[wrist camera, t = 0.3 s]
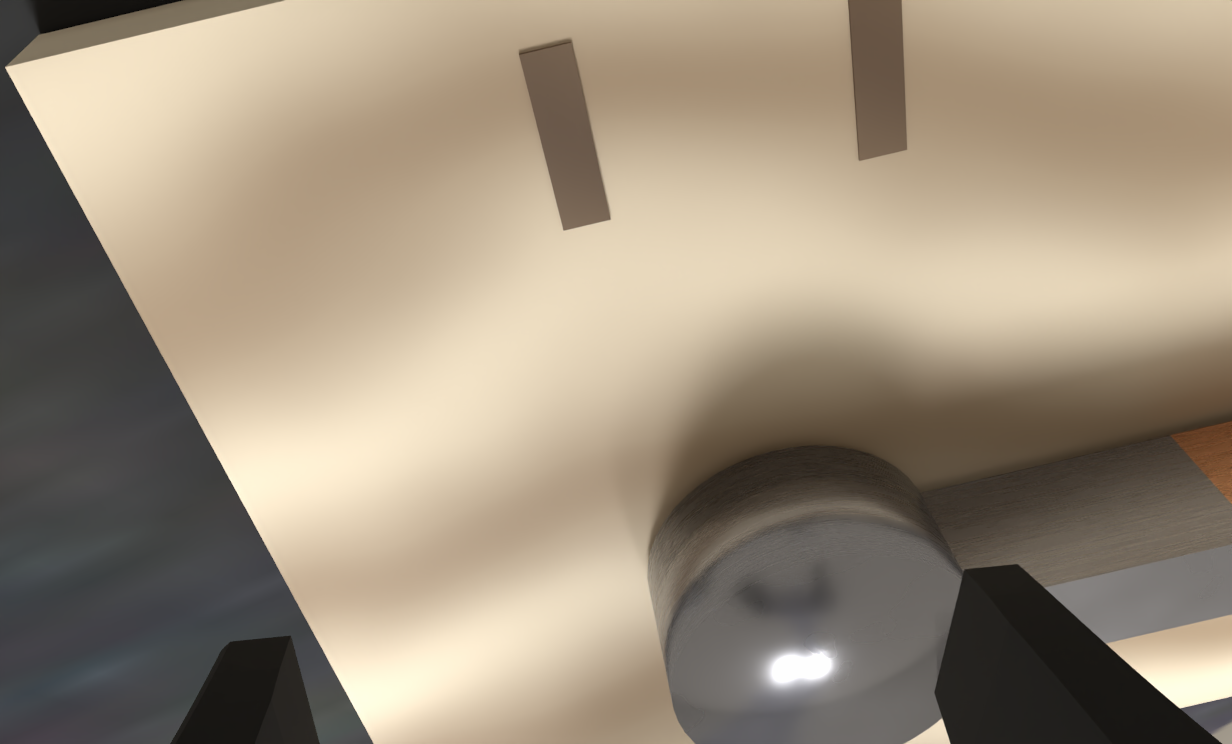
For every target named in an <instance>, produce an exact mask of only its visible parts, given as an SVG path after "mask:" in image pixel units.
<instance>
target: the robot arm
mask: <svg viewBox="0 0 1232 744" xmlns="http://www.w3.org/2000/svg"><path fill="white" fill-rule="evenodd" d="M934 693H935V697H936V700H937V703H938V706H939V709H940V712H941V716H942V719H943V722H944V725H945V728H946V731H947V735H948V738H949V741H950V744H1222V743H1221V742H1219V741H1218V740H1217V739H1216V738H1215V737H1213V736H1212V735H1211V734H1210V733H1208V732H1207V731H1206V730H1205V729H1204V728H1202V727H1201V726H1200V725H1199V724H1198V723H1196V722H1195V721H1194V720H1193V719H1192V718H1190V717H1189V716H1188V715H1187V714H1186V713H1185V712H1183V711H1182V710H1181V709H1180V708H1179V707H1178V706H1176V705H1175V704H1174V703H1173V702H1172V701H1170V700H1169V699H1168V698H1167V697H1166V696H1165V695H1163V694H1162V693H1161V692H1160V691H1159V690H1158V689H1156V688H1155V687H1154V686H1153V685H1152V684H1151V683H1150V682H1148V681H1147V680H1146V679H1145V678H1144V677H1143V676H1142V675H1140V674H1139V673H1138V672H1137V671H1136V670H1135V669H1134V668H1132V667H1131V666H1130V665H1129V664H1128V663H1127V662H1126V661H1125V660H1123V659H1122V658H1121V657H1120V656H1119V655H1118V654H1117V653H1116V652H1115V651H1113V650H1112V649H1111V648H1110V647H1109V646H1108V645H1107V644H1106V643H1105V642H1103V641H1102V640H1101V639H1100V638H1099V637H1098V636H1097V635H1096V634H1095V633H1093V632H1092V631H1091V630H1090V629H1089V628H1088V627H1087V626H1086V625H1085V624H1084V623H1082V622H1081V621H1080V620H1079V619H1078V618H1077V617H1076V616H1075V615H1074V614H1073V613H1071V612H1070V611H1069V610H1068V609H1067V608H1066V607H1065V606H1064V605H1063V604H1062V603H1061V602H1059V601H1058V600H1057V599H1056V598H1055V597H1054V596H1053V595H1052V594H1051V593H1050V592H1048V591H1047V590H1046V589H1045V588H1044V587H1043V586H1042V585H1041V584H1040V583H1039V582H1037V581H1036V580H1035V579H1034V578H1033V577H1032V576H1031V575H1030V574H1028V573H1027V572H1026V571H1025V570H1024V569H1023V568H1022V567H1021V566H1019V565H1018V564H1012V565H1002V566H992V567H982V568H972V569H964V572H963V576H962V580H961V584H960V589H959V593H958V597H957V601H956V605H955V609H954V613H953V617H952V621H951V626H950V630H949V634H948V638H947V642H946V646H945V650H944V654H943V658H942V663H941V667H940V671H939V675H938V679H937V683H936V687H935V691H934ZM170 744H319V740H318V736H317V732H316V729H315V725H314V721H313V717H312V713H311V710H310V706H309V702H308V698H307V695H306V691H305V687H304V683H303V680H302V676H301V672H300V668H299V665H298V661H297V657H296V653H295V650H294V646H293V642H292V638H291V636H283V637H273V638H263V639H253V640H243V641H233V642H230V643H229V644H228V645H226V646H225V647H224V648H223V649H222V650H221V652H220V654H219V656H218V658H217V660H216V662H215V664H214V666H213V667H212V669H211V671H210V673H209V675H208V677H207V679H206V681H205V683H204V684H203V686H202V688H201V690H200V692H199V694H198V696H197V697H196V699H195V701H194V703H193V705H192V707H191V708H190V710H189V712H188V714H187V716H186V717H185V719H184V721H183V723H182V724H181V726H180V728H179V730H178V731H177V733H176V735H175V737H174V738H173V740H172V742H171V743H170Z"/></svg>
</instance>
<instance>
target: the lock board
mask: <svg viewBox="0 0 1232 744" xmlns="http://www.w3.org/2000/svg"><path fill="white" fill-rule="evenodd" d="M5 68H6V70H7V72H8V73H9V75H10V77H11V79H12V81H13V83H14V84H15V86H16V88H17V90H18V92H19V94H20V95H21V97H22V99H23V101H24V103H25V105H26V106H27V108H28V110H29V112H30V114H31V116H32V117H33V119H34V121H35V123H36V125H37V127H38V128H39V130H40V132H41V134H42V136H43V138H44V139H45V141H46V143H47V145H48V147H49V149H50V150H51V152H52V154H53V156H54V158H55V160H56V161H57V163H58V165H59V167H60V169H61V171H62V172H63V174H64V176H65V178H66V180H67V182H68V183H69V185H70V187H71V189H72V191H73V193H74V194H75V196H76V198H77V200H78V202H79V204H80V205H81V207H82V209H83V211H84V213H85V215H86V216H87V218H88V220H89V222H90V224H91V226H92V227H93V229H94V231H95V233H96V235H97V237H98V238H99V240H100V242H101V244H102V246H103V248H104V249H105V251H106V253H107V255H108V257H109V259H110V260H111V262H112V264H113V266H114V268H115V270H116V271H117V273H118V275H119V277H120V279H121V281H122V282H123V284H124V286H125V288H126V290H127V292H128V293H129V295H130V297H131V299H132V301H133V303H134V304H135V306H136V308H137V310H138V312H139V314H140V315H141V317H142V319H143V321H144V323H145V325H146V326H147V328H148V330H149V332H150V334H151V336H152V337H153V339H154V341H155V343H156V345H157V347H158V349H159V350H160V352H161V354H162V356H163V358H164V360H165V361H166V363H167V365H168V367H169V369H170V371H171V372H172V374H173V376H174V378H175V380H176V382H177V383H178V385H179V387H180V389H181V391H182V393H183V394H184V396H185V398H186V400H187V402H188V404H189V405H190V407H191V409H192V411H193V413H194V415H195V416H196V418H197V420H198V422H199V424H200V426H201V427H202V429H203V431H204V433H205V435H206V437H207V438H208V440H209V442H210V444H211V446H212V448H213V449H214V451H215V453H216V455H217V457H218V459H219V460H220V462H221V464H222V466H223V468H224V470H225V471H226V473H227V475H228V477H229V479H230V481H231V482H232V484H233V486H234V488H235V490H236V492H237V493H238V495H239V497H240V499H241V501H242V503H243V504H244V506H245V508H246V510H247V512H248V514H249V515H250V517H251V519H252V521H253V523H254V525H255V526H256V528H257V530H258V532H259V534H260V536H261V537H262V539H263V541H264V543H265V545H266V547H267V548H268V550H269V552H270V554H271V556H272V558H273V559H274V561H275V563H276V565H277V567H278V569H279V570H280V572H281V574H282V576H283V578H284V580H285V581H286V583H287V585H288V587H289V589H290V591H291V592H292V594H293V596H294V598H295V600H296V602H297V603H298V605H299V607H300V609H301V611H302V613H303V614H304V616H305V618H306V620H307V622H308V624H309V625H310V627H311V629H312V631H313V633H314V635H315V636H316V638H317V640H318V642H319V644H320V646H321V647H322V649H323V651H324V653H325V655H326V657H327V658H328V660H329V662H330V664H331V666H332V668H333V669H334V671H335V673H336V675H337V677H338V679H339V680H340V682H341V684H342V686H343V688H344V690H345V691H346V693H347V695H348V697H349V699H350V701H351V702H352V704H353V706H354V708H355V710H356V712H357V713H358V715H359V717H360V719H361V721H362V723H363V724H364V726H365V728H366V730H367V732H368V734H369V735H370V737H371V739H372V741H373V743H374V744H695V743H694V742H693V741H692V740H691V738H690V737H689V736H688V735H687V734H686V733H685V732H684V730H683V728H682V727H681V725H680V724H679V722H678V720H677V717H676V714H675V712H674V709H673V704H672V699H671V694H670V689H669V685H668V680H667V675H666V670H665V665H664V660H663V655H662V650H661V645H660V640H659V635H658V630H657V625H656V621H655V616H654V611H653V606H652V601H651V596H650V591H649V585H648V579H647V575H648V561H649V556H650V551H651V548H652V545H653V543H654V540H655V538H656V535H657V534H658V532H659V530H660V528H661V526H662V525H663V523H664V521H665V520H666V519H667V517H668V516H669V515H670V513H671V512H672V511H673V509H674V508H675V507H676V506H677V505H678V504H679V503H680V502H681V501H682V500H683V499H684V498H685V497H686V496H687V495H688V494H689V493H691V492H692V491H693V490H694V489H695V488H697V487H698V486H699V485H700V484H702V483H703V482H705V481H706V480H708V479H709V478H711V477H712V476H714V475H715V474H717V473H719V472H721V471H723V470H725V469H726V468H728V467H730V466H732V465H734V464H736V463H739V462H741V461H744V460H746V459H749V458H752V457H754V456H757V455H761V454H764V453H768V452H771V451H775V450H781V449H786V448H792V447H802V446H836V447H843V448H850V449H855V450H858V451H862V452H866V453H869V454H871V455H874V456H876V457H879V458H881V459H883V460H885V461H887V462H889V463H890V464H892V465H893V466H895V467H897V468H898V469H899V470H900V471H902V472H903V473H904V474H905V475H906V476H908V477H909V478H910V480H911V481H912V482H913V483H914V485H915V486H916V487H917V488H918V490H919V492H920V493H923V492H927V491H932V490H936V489H940V488H945V487H949V486H953V485H958V484H962V483H966V482H970V481H975V480H979V479H983V478H988V477H992V476H996V475H1001V474H1005V473H1009V472H1014V471H1018V470H1022V469H1026V468H1031V467H1035V466H1039V465H1044V464H1048V463H1052V462H1057V461H1061V460H1065V459H1070V458H1074V457H1078V456H1082V455H1087V454H1091V453H1095V452H1100V451H1104V450H1108V449H1113V448H1117V447H1121V446H1126V445H1130V444H1134V443H1138V442H1143V441H1147V440H1151V439H1156V438H1160V437H1164V436H1169V435H1173V434H1177V433H1182V432H1186V431H1190V430H1194V429H1199V428H1203V427H1207V426H1212V425H1216V424H1220V423H1225V422H1229V421H1232V0H183V1H179V2H175V3H170V4H166V5H162V6H158V7H154V8H149V9H145V10H141V11H137V12H133V13H129V14H124V15H120V16H116V17H112V18H108V19H103V20H99V21H95V22H91V23H87V24H83V25H78V26H74V27H70V28H66V29H62V30H57V31H53V32H49V33H45V34H41V35H38V36H37V37H36V38H35V39H34V40H33V41H32V42H31V43H30V44H29V45H28V46H27V47H26V48H25V49H24V50H23V51H22V52H21V53H20V54H18V55H17V56H16V57H15V58H14V59H13V60H12V61H11V62H10V63H9V64H8V65H7V66H6V67H5ZM1106 644H1107V645H1108V646H1109V647H1110V648H1111V649H1112V650H1113V651H1115V652H1116V653H1117V654H1118V655H1119V656H1120V657H1121V658H1122V659H1123V660H1125V661H1126V662H1127V663H1128V664H1129V665H1130V666H1131V667H1132V668H1134V669H1135V670H1136V671H1137V672H1138V673H1139V674H1140V675H1142V676H1143V677H1144V678H1145V679H1146V680H1147V681H1148V682H1150V683H1151V684H1152V685H1153V686H1154V687H1155V688H1156V689H1158V690H1159V691H1160V692H1161V693H1162V694H1163V695H1165V696H1166V697H1167V698H1168V699H1169V700H1170V701H1172V702H1173V703H1174V704H1175V705H1176V706H1178V707H1179V708H1183V707H1187V706H1192V705H1196V704H1200V703H1205V702H1209V701H1213V700H1218V699H1222V698H1227V697H1231V696H1232V615H1228V616H1223V617H1219V618H1215V619H1210V620H1206V621H1202V622H1197V623H1193V624H1189V625H1184V626H1180V627H1176V628H1171V629H1167V630H1163V631H1158V632H1154V633H1149V634H1145V635H1141V636H1136V637H1132V638H1128V639H1123V640H1119V641H1115V642H1110V643H1106ZM904 744H950V741H949V738H948V735H947V731H946V728H945V725H944V722H943V719H940V720H939V721H938V722H937V723H935V724H934V725H933V726H932V727H930V728H929V729H927V730H926V731H924V732H923V733H921V734H920V735H918V736H917V737H915V738H913V739H912V740H910V741H908V742H906V743H904Z"/></svg>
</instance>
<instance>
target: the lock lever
mask: <svg viewBox="0 0 1232 744" xmlns="http://www.w3.org/2000/svg"><path fill="white" fill-rule="evenodd" d="M1012 564H1018V565H1019V566H1021V567H1022V568H1023V569H1024V570H1025V571H1026V572H1027V573H1028V574H1030V575H1031V576H1032V577H1033V578H1034V579H1035V580H1036V581H1037V582H1039V583H1040V584H1041V585H1042V586H1043V587H1044V588H1045V589H1046V590H1047V591H1048V592H1050V593H1051V594H1052V595H1053V596H1054V597H1055V598H1056V599H1057V600H1058V601H1059V602H1061V603H1062V604H1063V605H1064V606H1065V607H1066V608H1067V609H1068V610H1069V611H1070V612H1071V613H1073V614H1074V615H1075V616H1076V617H1077V618H1078V619H1079V620H1080V621H1081V622H1082V623H1084V624H1085V625H1086V626H1087V627H1088V628H1089V629H1090V630H1091V631H1092V632H1093V633H1095V634H1096V635H1097V636H1098V637H1099V638H1100V639H1101V640H1102V641H1103V642H1105V643H1110V642H1115V641H1119V640H1123V639H1128V638H1132V637H1136V636H1141V635H1145V634H1149V633H1154V632H1158V631H1163V630H1167V629H1171V628H1176V627H1180V626H1184V625H1189V624H1193V623H1197V622H1202V621H1206V620H1210V619H1215V618H1219V617H1223V616H1228V615H1232V421H1229V422H1225V423H1220V424H1216V425H1212V426H1207V427H1203V428H1199V429H1194V430H1190V431H1186V432H1182V433H1177V434H1173V435H1169V436H1164V437H1160V438H1156V439H1151V440H1147V441H1143V442H1138V443H1134V444H1130V445H1126V446H1121V447H1117V448H1113V449H1108V450H1104V451H1100V452H1095V453H1091V454H1087V455H1082V456H1078V457H1074V458H1070V459H1065V460H1061V461H1057V462H1052V463H1048V464H1044V465H1039V466H1035V467H1031V468H1026V469H1022V470H1018V471H1014V472H1009V473H1005V474H1001V475H996V476H992V477H988V478H983V479H979V480H975V481H970V482H966V483H962V484H958V485H953V486H949V487H945V488H940V489H936V490H932V491H927V492H923V493H920V492H919V490H918V488H917V487H916V486H915V485H914V483H913V482H912V481H911V480H910V478H909V477H908V476H906V475H905V474H904V473H903V472H902V471H900V470H899V469H898V468H897V467H895V466H893V465H892V464H890V463H889V462H887V461H885V460H883V459H881V458H879V457H876V456H874V455H871V454H869V453H866V452H862V451H858V450H855V449H850V448H843V447H836V446H802V447H792V448H786V449H781V450H775V451H771V452H768V453H764V454H761V455H757V456H754V457H752V458H749V459H746V460H744V461H741V462H739V463H736V464H734V465H732V466H730V467H728V468H726V469H725V470H723V471H721V472H719V473H717V474H715V475H714V476H712V477H711V478H709V479H708V480H706V481H705V482H703V483H702V484H700V485H699V486H698V487H697V488H695V489H694V490H693V491H692V492H691V493H689V494H688V495H687V496H686V497H685V498H684V499H683V500H682V501H681V502H680V503H679V504H678V505H677V506H676V507H675V508H674V509H673V511H672V512H671V513H670V515H669V516H668V517H667V519H666V520H665V521H664V523H663V525H662V526H661V528H660V530H659V532H658V534H657V535H656V538H655V540H654V543H653V545H652V548H651V551H650V556H649V561H648V575H647V579H648V585H649V591H650V596H651V601H652V606H653V611H654V616H655V621H656V625H657V630H658V635H659V640H660V645H661V650H662V655H663V660H664V665H665V670H666V675H667V680H668V685H669V689H670V694H671V699H672V704H673V709H674V712H675V714H676V717H677V720H678V722H679V724H680V725H681V727H682V728H683V730H684V732H685V733H686V734H687V735H688V736H689V737H690V738H691V740H692V741H693V742H694V743H695V744H904V743H906V742H908V741H910V740H912V739H913V738H915V737H917V736H918V735H920V734H921V733H923V732H924V731H926V730H927V729H929V728H930V727H932V726H933V725H934V724H935V723H937V722H938V721H939V720H940V719H942V716H941V712H940V709H939V706H938V703H937V700H936V697H935V693H934V691H935V687H936V683H937V679H938V675H939V671H940V667H941V663H942V658H943V654H944V650H945V646H946V642H947V638H948V634H949V630H950V626H951V621H952V617H953V613H954V609H955V605H956V601H957V597H958V593H959V589H960V584H961V580H962V576H963V572H964V569H972V568H982V567H992V566H1002V565H1012Z"/></svg>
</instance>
